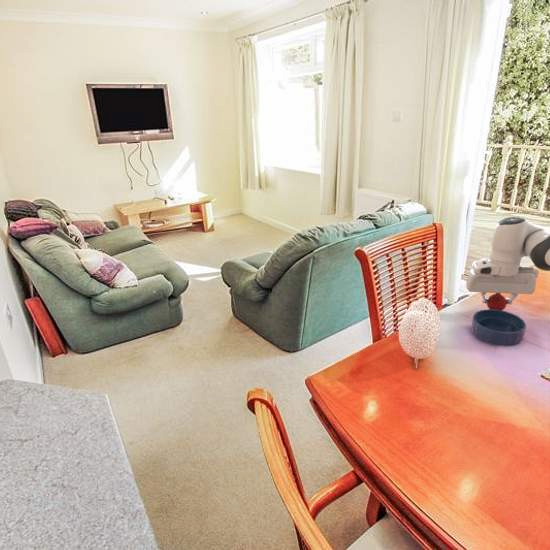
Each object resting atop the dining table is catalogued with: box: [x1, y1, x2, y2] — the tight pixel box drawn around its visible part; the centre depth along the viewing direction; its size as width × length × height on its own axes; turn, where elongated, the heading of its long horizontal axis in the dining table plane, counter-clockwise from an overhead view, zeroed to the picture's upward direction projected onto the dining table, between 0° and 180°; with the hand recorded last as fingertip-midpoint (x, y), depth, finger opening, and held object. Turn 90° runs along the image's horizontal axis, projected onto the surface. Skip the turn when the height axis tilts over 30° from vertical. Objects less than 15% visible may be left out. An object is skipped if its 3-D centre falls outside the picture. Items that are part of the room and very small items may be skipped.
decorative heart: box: [398, 298, 441, 369], centre depth 107 cm, size 18×11×17 cm, turn 150°
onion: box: [486, 293, 508, 311], centre depth 128 cm, size 6×6×8 cm
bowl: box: [470, 308, 527, 347], centre depth 117 cm, size 14×14×5 cm
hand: (496, 303), depth 128 cm, fingers closed on onion, 6 cm apart
